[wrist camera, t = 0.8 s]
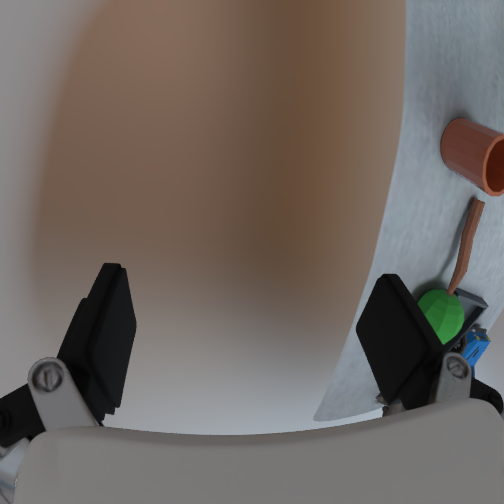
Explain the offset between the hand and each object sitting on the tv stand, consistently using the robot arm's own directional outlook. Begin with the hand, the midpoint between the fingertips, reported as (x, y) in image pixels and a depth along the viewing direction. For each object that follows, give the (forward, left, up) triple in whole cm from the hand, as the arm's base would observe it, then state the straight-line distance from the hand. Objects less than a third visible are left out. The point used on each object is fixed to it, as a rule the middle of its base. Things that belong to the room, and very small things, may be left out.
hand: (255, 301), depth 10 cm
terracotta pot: (-12, +21, -16) cm, 29 cm away
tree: (+1, +30, -16) cm, 34 cm away
